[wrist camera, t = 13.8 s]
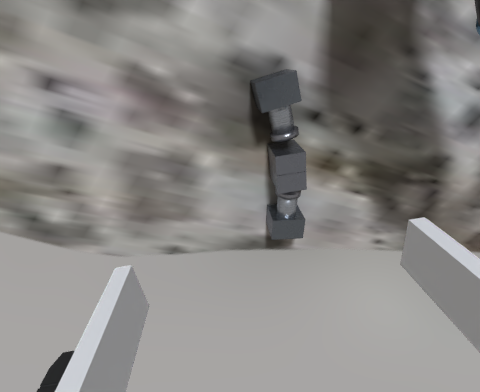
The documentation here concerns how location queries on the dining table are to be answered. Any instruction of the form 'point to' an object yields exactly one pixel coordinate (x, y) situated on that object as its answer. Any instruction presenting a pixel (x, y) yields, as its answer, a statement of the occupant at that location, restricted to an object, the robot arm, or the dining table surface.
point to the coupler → (287, 166)
